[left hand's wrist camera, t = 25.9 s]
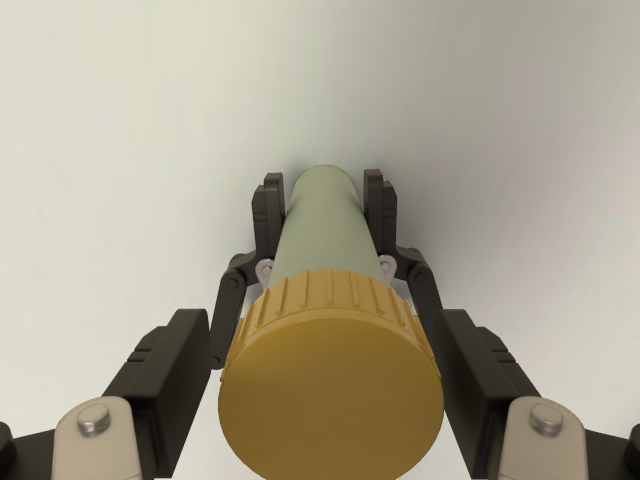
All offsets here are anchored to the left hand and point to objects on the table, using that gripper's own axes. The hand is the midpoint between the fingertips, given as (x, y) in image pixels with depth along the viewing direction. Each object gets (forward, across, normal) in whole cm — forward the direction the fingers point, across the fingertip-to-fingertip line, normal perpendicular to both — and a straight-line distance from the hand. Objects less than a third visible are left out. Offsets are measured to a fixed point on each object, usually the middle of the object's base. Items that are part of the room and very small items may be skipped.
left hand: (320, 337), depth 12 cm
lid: (-3, 0, 0) cm, 3 cm away
